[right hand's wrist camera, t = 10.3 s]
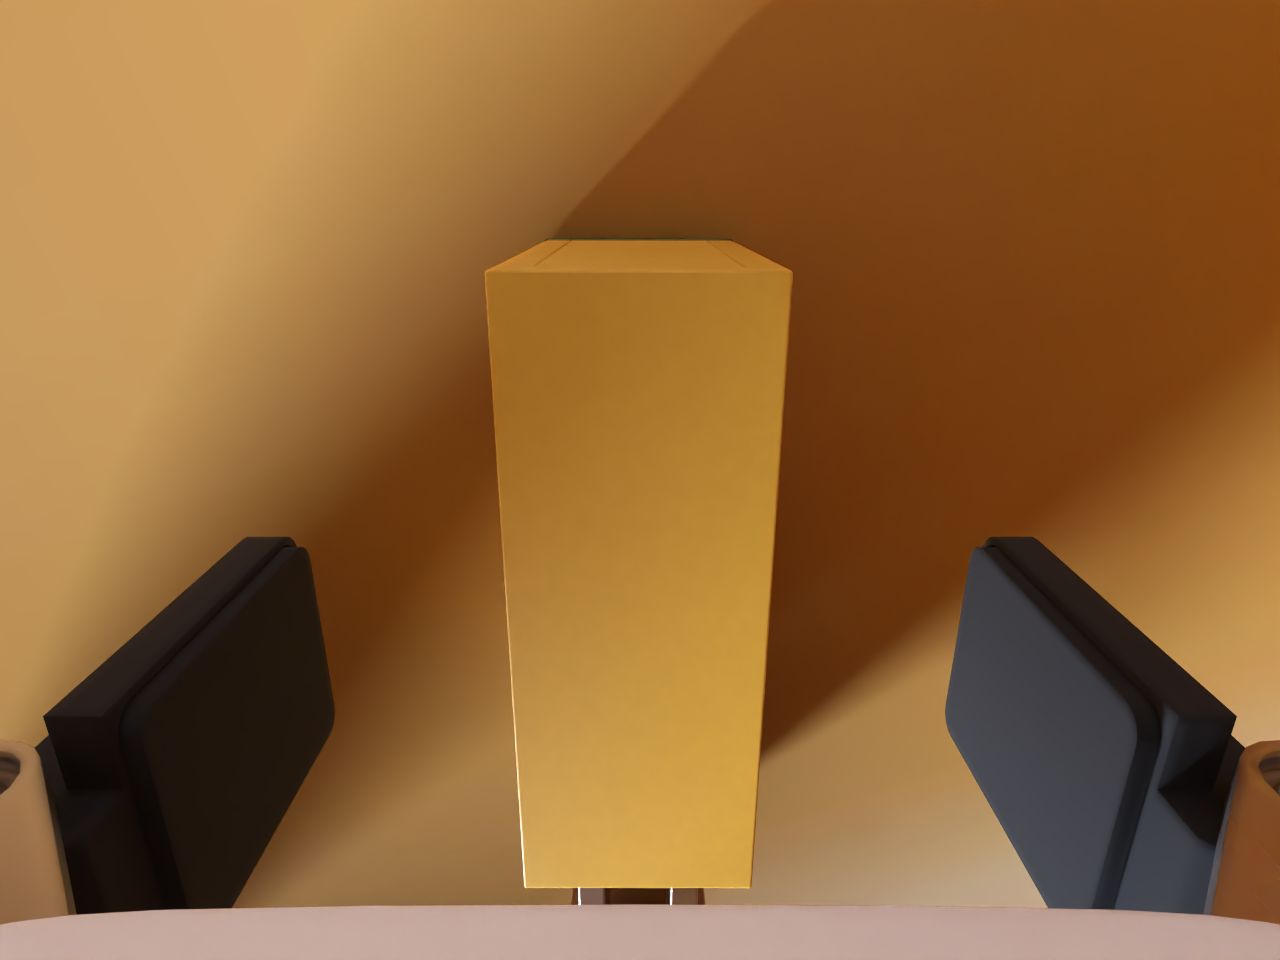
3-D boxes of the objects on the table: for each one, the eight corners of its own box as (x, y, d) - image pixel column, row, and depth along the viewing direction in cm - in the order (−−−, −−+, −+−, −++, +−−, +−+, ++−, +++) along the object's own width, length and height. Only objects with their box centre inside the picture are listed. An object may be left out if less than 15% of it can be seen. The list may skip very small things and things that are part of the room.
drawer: (692, 928, 36) (709, 1176, 27) (584, 928, 36) (565, 1176, 27) (706, 502, 29) (737, 645, 20) (570, 502, 29) (539, 644, 20)
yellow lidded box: (714, 654, 32) (752, 889, 21) (562, 654, 32) (523, 889, 21) (730, 239, 26) (793, 270, 16) (547, 238, 26) (482, 269, 16)
